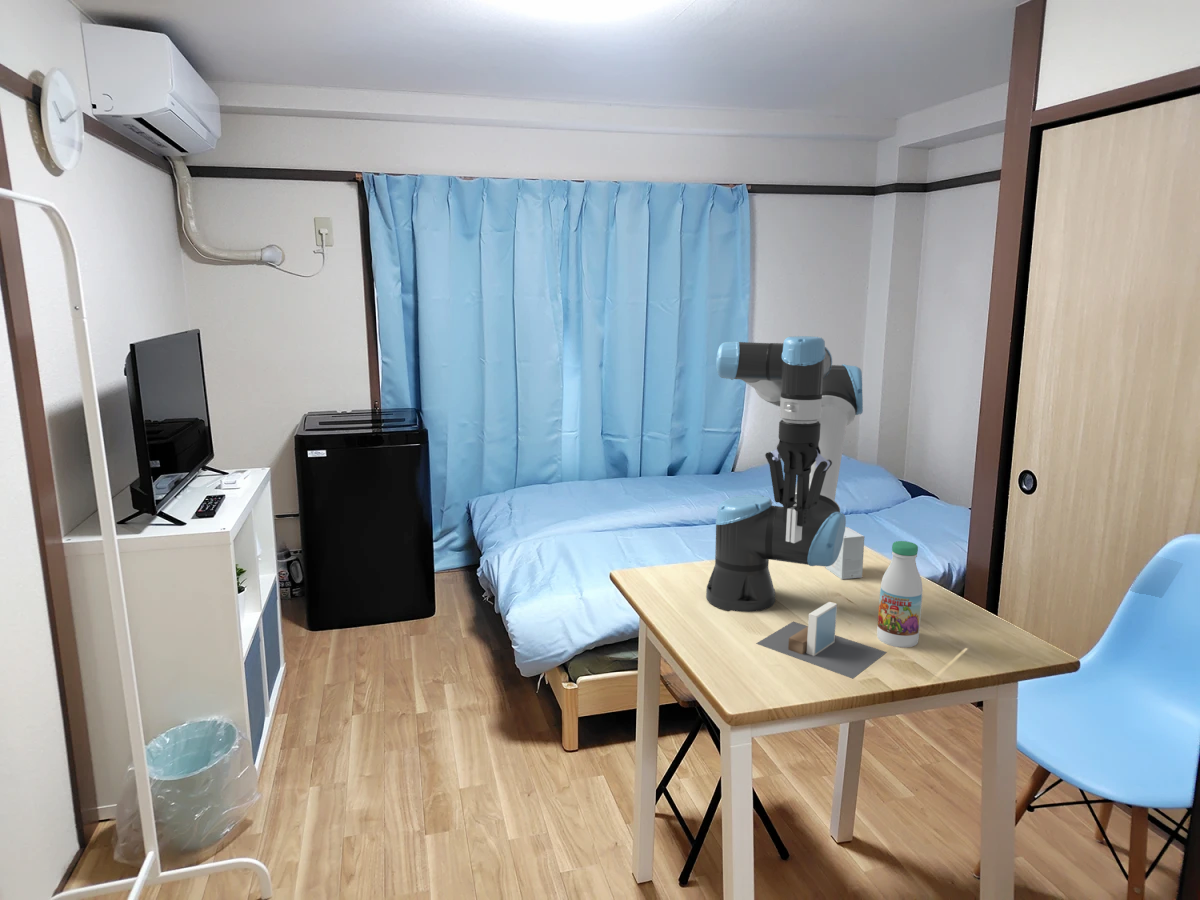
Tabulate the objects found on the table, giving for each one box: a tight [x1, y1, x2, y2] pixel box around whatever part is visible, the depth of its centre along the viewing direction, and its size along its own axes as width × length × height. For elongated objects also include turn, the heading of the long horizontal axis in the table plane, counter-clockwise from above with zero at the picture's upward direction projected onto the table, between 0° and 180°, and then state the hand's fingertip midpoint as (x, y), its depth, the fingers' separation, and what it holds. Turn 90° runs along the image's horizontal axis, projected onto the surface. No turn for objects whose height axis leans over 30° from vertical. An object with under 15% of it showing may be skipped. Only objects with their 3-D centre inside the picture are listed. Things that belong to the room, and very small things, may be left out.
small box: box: [824, 526, 865, 580], centre depth 188 cm, size 8×6×10 cm
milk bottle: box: [876, 540, 924, 648], centre depth 152 cm, size 8×8×20 cm
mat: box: [755, 621, 888, 679], centre depth 150 cm, size 20×14×1 cm
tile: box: [807, 601, 838, 656], centre depth 149 cm, size 2×8×8 cm, turn 136°
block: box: [788, 625, 808, 655], centre depth 151 cm, size 3×10×2 cm, turn 136°
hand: (793, 540), depth 150 cm, fingers closed
